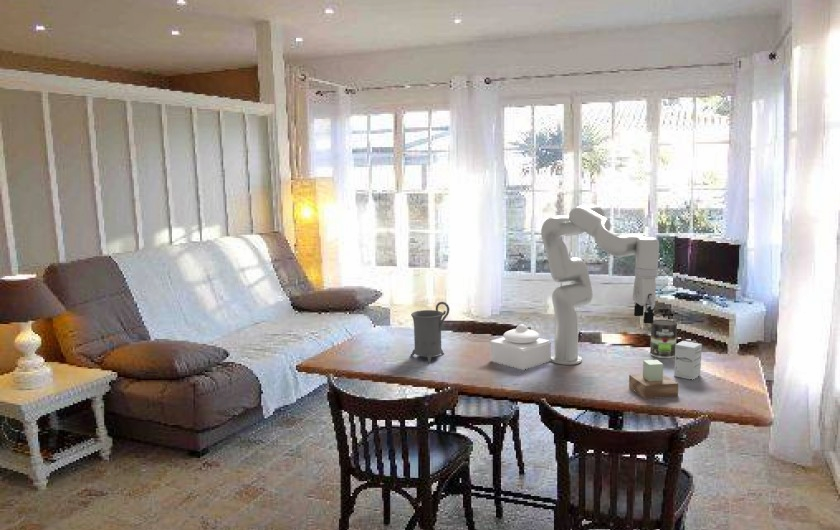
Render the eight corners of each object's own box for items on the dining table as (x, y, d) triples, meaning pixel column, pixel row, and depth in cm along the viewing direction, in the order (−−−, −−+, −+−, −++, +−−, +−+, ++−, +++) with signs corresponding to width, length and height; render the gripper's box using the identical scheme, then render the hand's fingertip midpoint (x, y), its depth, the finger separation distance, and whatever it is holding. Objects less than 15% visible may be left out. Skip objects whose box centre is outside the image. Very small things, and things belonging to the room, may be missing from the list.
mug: (402, 360, 270) (400, 302, 266) (418, 351, 283) (416, 296, 279) (443, 365, 262) (441, 305, 258) (457, 355, 275) (456, 298, 271)
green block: (642, 376, 227) (643, 360, 226) (656, 375, 227) (656, 359, 226) (648, 381, 222) (649, 364, 221) (662, 380, 222) (663, 364, 221)
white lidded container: (523, 370, 252) (523, 331, 250) (490, 361, 266) (489, 324, 263) (551, 361, 263) (551, 324, 261) (517, 352, 277) (517, 317, 275)
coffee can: (677, 358, 262) (679, 325, 260) (651, 357, 264) (652, 324, 262) (674, 352, 272) (675, 319, 269) (648, 351, 274) (649, 319, 272)
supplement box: (673, 376, 240) (674, 344, 238) (681, 371, 245) (682, 340, 243) (693, 380, 235) (694, 347, 233) (701, 375, 240) (702, 343, 238)
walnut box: (629, 388, 230) (629, 374, 229) (660, 385, 231) (660, 372, 231) (645, 399, 218) (645, 385, 217) (677, 397, 220) (678, 383, 219)
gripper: (627, 268, 233) (625, 313, 236) (644, 277, 216) (641, 326, 219) (647, 268, 233) (645, 313, 236) (666, 277, 216) (663, 325, 219)
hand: (643, 319), depth 228 cm, fingers open, 9 cm apart
